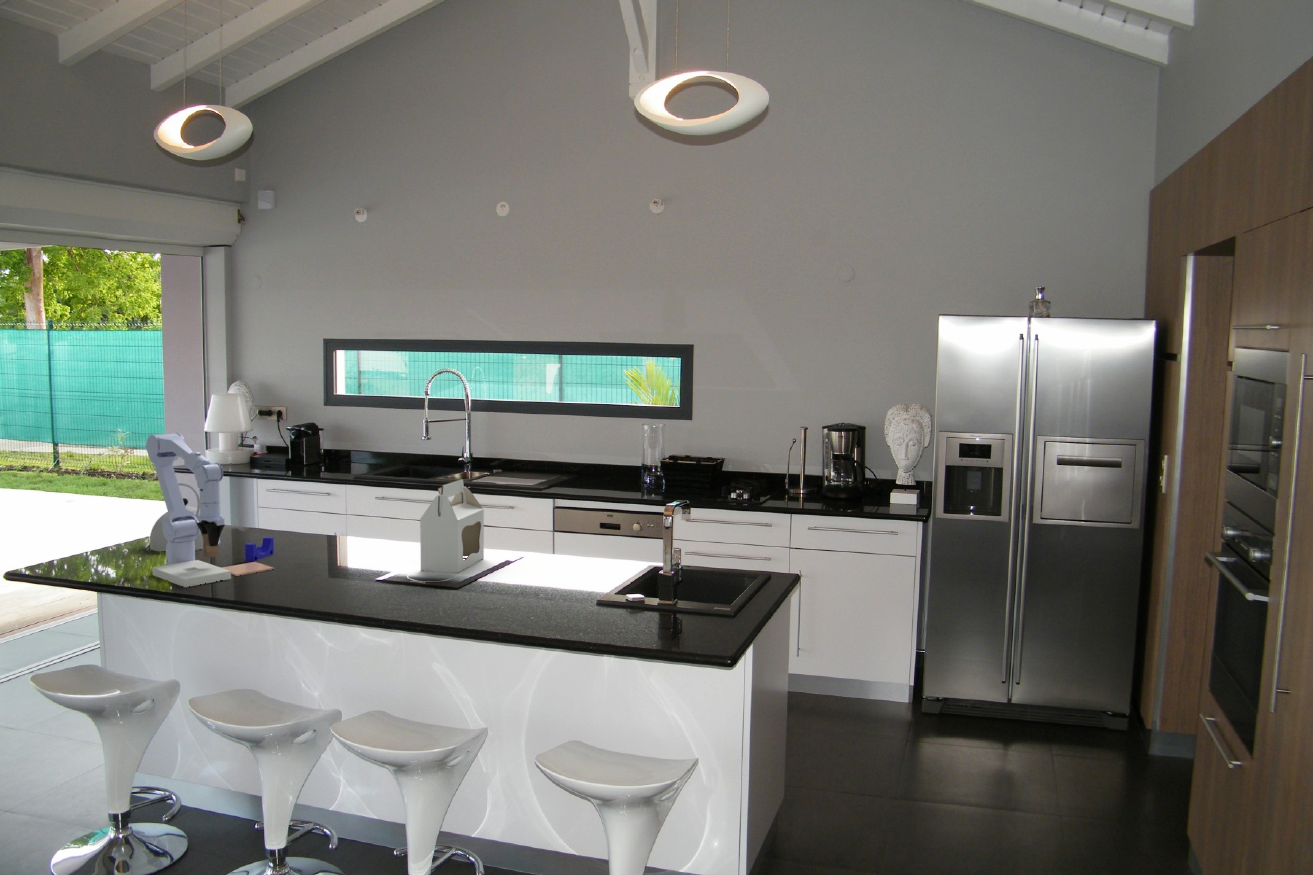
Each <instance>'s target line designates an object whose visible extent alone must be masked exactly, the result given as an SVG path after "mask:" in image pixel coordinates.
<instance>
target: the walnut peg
mask: <svg viewBox="0 0 1313 875" xmlns="http://www.w3.org/2000/svg"><path fill="white" fill-rule="evenodd" d="M202 553H203V555H202V556H203V557H206V558H213V557H219V545H218V546H210V543H209V537H208V533H207V534H203V549H202Z"/></svg>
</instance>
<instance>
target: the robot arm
mask: <svg viewBox="0 0 1313 875" xmlns="http://www.w3.org/2000/svg"><path fill="white" fill-rule="evenodd" d="M145 448H146V453H147V455H148V458H149V461H150V462H151V463H153V466H154V470H155V473H156V476H157V479H158V483H159V486H160V489H161V490H160V491H161V492H162V497H163V500H164V503H165V506H166V509H167V510H166V511H167V512H168V514H167V515H166V516H165V517H164V518H163V520H162V525H163V535H164V537H165V538H166V539H167V541H168V543H167V544H166V552H165V564H162V566H164V565H170V564H176V563H182V562H188V561H194V560H196V550H195V540H194V539H197V536H198V535H199V533H200V531H201V533H202V537H203V534H207V533H208V537H209V543H210V546H218V547H219V545H218V542H219V538H220V539H221V534H222V531H223V530H224V528H225V526H226V524H225V518H223V516H222V515H221V496H220V495H221V491H220V489H221V488H220V482H221V481H222V480H223V478H224V469H223V467H222V465H221V464H220V463H219V462H215V463H214V462H211V461H210V460H209V459H208V458H206V457H205V455H203V454H202V453H201V452H200V451H193V450H192V449H191V448H190V447H189V446H188V445H187V444H186V440H185V437H184V436H183V435H182V434H181V433H180V432H174V433H161V434H150V435H149V436H148V437H147V438H146V443H145ZM179 458H181V459H182V460H184V461H183V462H184V465H185V466H186V468H187V469H188V470H190V471H191V472H192V473H193V474H194V478H195V480H196V485H197V488H198V490H199V491H198V492H199V498H200V513H198V514H197V518H196V516H195V513H193V512H191V511H189V510H188V509H186V508H185V505H184V501H183V495H182V492H181V489H180V485H178V478H177V475H176V473H175V468H174V465H173V464H174V462H175V461H177V460H179ZM198 520H202V521H201V522H199V521H198Z"/></svg>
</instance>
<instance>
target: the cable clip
mask: <svg viewBox="0 0 1313 875" xmlns="http://www.w3.org/2000/svg"><path fill="white" fill-rule="evenodd" d="M274 542H275V541H274V537H272V536H271V537H269V536H268V537H267V536H265V537H262V544H261V545H259V546H257V545H256V544H257V543H249V542H247V543H245V544H244V551H245V552H244V554H245V557H244V558H245V560H244V561H245V562H249V561H254V562H257V561H259V560H258V559H260V560H262V559H264V557H265V558H267V557H269V556H272V554H273V553H274V552H275V550H274V549H275V548H274V546H275V545H274ZM273 555H274V554H273ZM266 556H267V557H266ZM256 560H257V561H256Z"/></svg>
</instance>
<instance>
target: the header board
mask: <svg viewBox="0 0 1313 875" xmlns="http://www.w3.org/2000/svg"><path fill="white" fill-rule="evenodd" d="M163 565H164V564H163ZM163 565H158V566H153V567H152V576H154V577H156V578H160V579H162V580H164V581H167V580H168V581H167V582H170V583H172V584H175V585H177V586H180V587H182V586H183V587H182V588H189V586H190V587H194V586H200V584H201V585H205V583H206V584H212V583H217V582H221V581H220V580H223V581H227V580H232V574H231V571H229V570H226V569H223V568H222V567H221V566H218V565H213V564H211V563H209V562H205V561H202V560H200V559H195V560H194V561H188V562H182V563H176V564H170V565H164V566H163ZM216 581H217V582H216Z"/></svg>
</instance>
